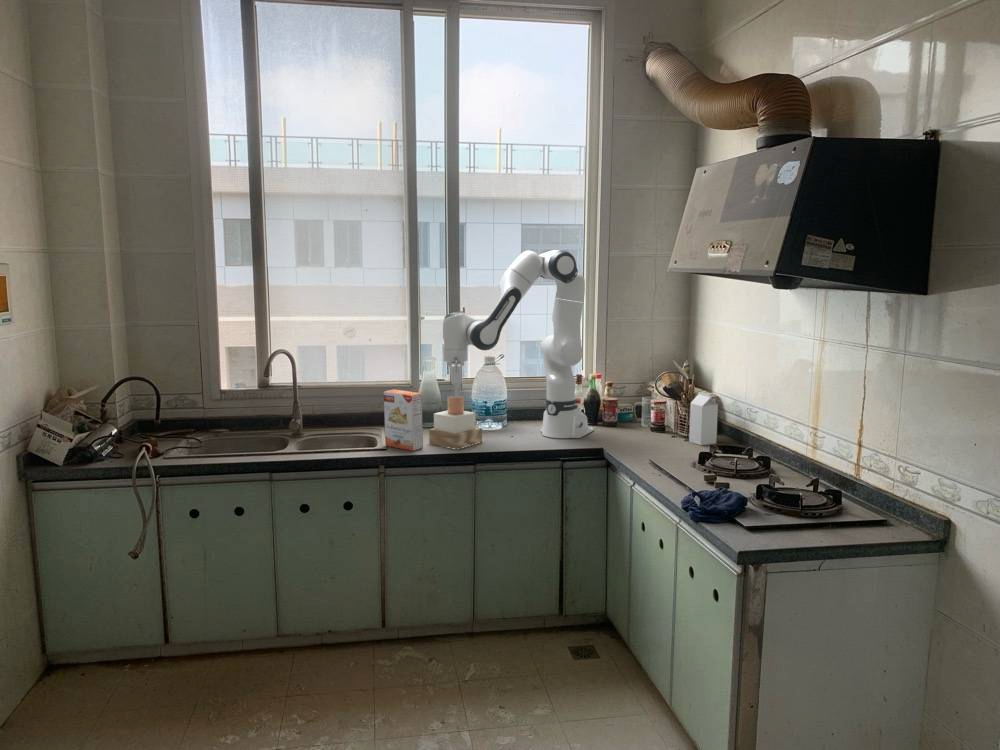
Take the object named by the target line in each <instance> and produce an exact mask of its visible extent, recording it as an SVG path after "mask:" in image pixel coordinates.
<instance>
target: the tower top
mask: <svg viewBox="0 0 1000 750" xmlns="http://www.w3.org/2000/svg"><path fill="white" fill-rule="evenodd" d="M476 427H477V425H476V412H473V411H468V410H464V413H463V414H460V415H451V414H448V409H446V410H443V411H439V412H435V413H433V428H434V429H436V430H440V431H445V432H449V433H454V434H455V433H459V432H463V431H467V430H471V429H475V428H476Z"/></svg>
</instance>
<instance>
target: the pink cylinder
mask: <svg viewBox="0 0 1000 750" xmlns="http://www.w3.org/2000/svg"><path fill="white" fill-rule="evenodd" d="M446 398H447V410H448V414H451V415H460V414H463V413H464V411H465V410H464V407H465V406H464V402H465V401H464V396H461V395H459V396H455V395H451V396H447V397H446Z"/></svg>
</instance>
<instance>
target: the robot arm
mask: <svg viewBox="0 0 1000 750" xmlns="http://www.w3.org/2000/svg"><path fill="white" fill-rule="evenodd" d="M540 277H541V278H542V279H546V280H553V281H554V282H555V285H556V292H555V297H554V303H553V304H554V305H553V309H552V315H551V320H552V324H553V325H552V326H553V334H550V335H547V336H545V338H543V340H542V341H541V344H540V351H541V354H542V359H543V365H544V372H545V378H546V379H545V380H546V398H545V399H544V401H545V402H544V404H545V410H544V411H543V417H542V427H541V428H540V432H541V435H542V436H544V437H548V438H552V439H580V438H582V437H584V436H586V435H588V434H590V433H591V432H593V431H594V428H593V427H592V426H589V425H588V416H587V415H586V414H585V413H584V412H583V411H581V410H580V409H579V408H578V405H581V403H582V400H581V398H576V397H575V396H576V379H575V376H574V374H573V370H572V366H576V365H577V364H578V363H580V362H581V360H582V358H583V356H584V355H583V354H584V350H583V347H582V339H581V337H582V336H581V322H582V321H581V320H582V314H583V307H584V302H585V292H586V282H585V281H586V280H585V277H584V276H583V274H581V273H580V272H579V270H578V267H577V261H576V259H575V257H574V255H573V254H572V253H570V252H568V251H567V250H559V249H552V250H546V251H542V252H540V253H537V252H535V251H533V250H524V251H523V252H522V253H520V254H519V255H518V256H517V258H515V259H514V260H513V261H512V263H511V264H510V265H509V267H507V268H506V270H505V271H504V272H503V274H502V276H501V278H500V281H499V283H498V288H499V292H500V296H499V300H498V301H497V303H496V305H495V306H494V308H493V310H492V311H491V312H490V314H489V315H488V317H487V318H485V320H481V319H477V318H475V317H472V316H470V315H468V314H466V313H465V312H464V311H454V312H450V313H447V314H446V315H445V316H444V318H443V323H442V339H443V347H442V348H443V349H442V352H443V362H445V363H446V365H447V367H449V373H450V380H451V385H452V386H453V391H454V393H453V396H460V386H461V385H462V383H463V375H462V367H463V366H465V362H467V361H468V359H469V358H468V347H469V346H470V345H471V346H474V347H476V348H477V349H478V350H480V351H489V350H492V349H493V348H495V347H496V346H497V344H498V343H499V340H500V336H501V332H502V330H503V327H505V324H506V323H507V322H508V320H509V318H510V316H511V315H512V314H513V313H514V311H515V309H516V308H517V306H518V304H519V303H520V301H522V299H523V298H524V296H526V294H527V293H528V291H529V290H530V289H531V287H532V286H533V284H534V283H535V281H536V280H538V279H539V278H540Z"/></svg>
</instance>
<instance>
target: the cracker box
mask: <svg viewBox="0 0 1000 750" xmlns="http://www.w3.org/2000/svg"><path fill="white" fill-rule="evenodd" d="M422 394H423V393H421V392H416V391H415V392H414V391H408V390H401V389H388V390H385V391H383V402H384V403H383V404H384V405H383V409H384V435H385V436H384V439H385V446H387V447H391V448H395V447H396V448H395V449H399V448H400V449H399V450H404V449H405V450H406V451H409V450H410V451H409V452H416V451H419V450H421V449H423V448H424V441H423V440H424V438H423V437H424V436H423V435H424V434H423V431H424V430H423V395H422Z"/></svg>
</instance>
